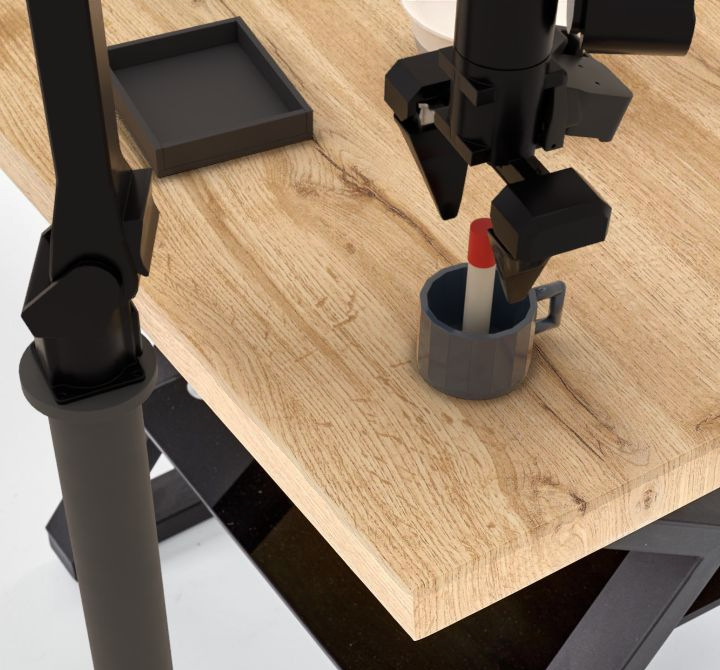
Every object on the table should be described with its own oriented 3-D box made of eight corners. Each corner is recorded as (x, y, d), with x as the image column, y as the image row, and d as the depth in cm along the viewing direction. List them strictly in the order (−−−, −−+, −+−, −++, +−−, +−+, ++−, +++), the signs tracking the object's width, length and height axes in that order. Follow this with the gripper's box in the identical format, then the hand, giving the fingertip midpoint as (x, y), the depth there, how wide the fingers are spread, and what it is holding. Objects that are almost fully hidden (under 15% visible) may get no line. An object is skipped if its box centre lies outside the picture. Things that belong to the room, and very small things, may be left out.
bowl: (406, 146, 126) (410, 50, 119) (385, 37, 136) (388, -56, 130) (603, 138, 127) (618, 42, 120) (567, 31, 137) (579, -62, 131)
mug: (448, 413, 106) (453, 351, 102) (397, 341, 110) (400, 280, 106) (586, 368, 109) (596, 307, 105) (530, 301, 113) (538, 239, 109)
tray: (158, 178, 122) (155, 150, 120) (94, 77, 131) (90, 49, 129) (313, 138, 126) (313, 110, 124) (241, 43, 135) (240, 15, 133)
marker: (467, 368, 108) (479, 239, 100) (453, 350, 109) (464, 221, 101) (492, 360, 108) (507, 231, 100) (479, 342, 110) (492, 214, 101)
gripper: (710, 97, 88) (663, 312, 99) (544, -60, 98) (520, 151, 110) (535, 143, 84) (508, 360, 96) (384, -24, 95) (376, 189, 107)
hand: (481, 258), depth 102 cm, fingers open, 9 cm apart
